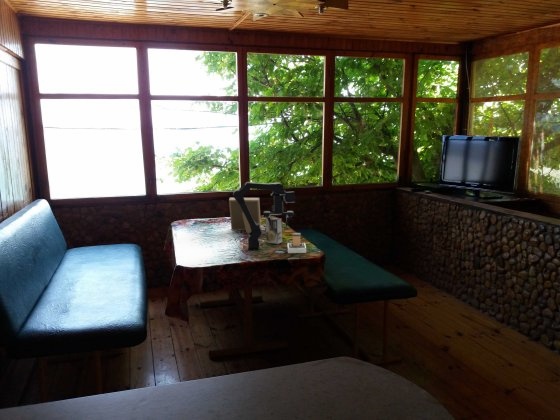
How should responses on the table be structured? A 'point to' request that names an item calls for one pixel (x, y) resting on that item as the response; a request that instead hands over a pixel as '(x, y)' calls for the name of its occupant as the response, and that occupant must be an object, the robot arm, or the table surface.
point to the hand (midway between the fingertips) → (278, 227)
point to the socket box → (296, 248)
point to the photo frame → (239, 217)
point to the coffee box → (274, 231)
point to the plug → (296, 239)
